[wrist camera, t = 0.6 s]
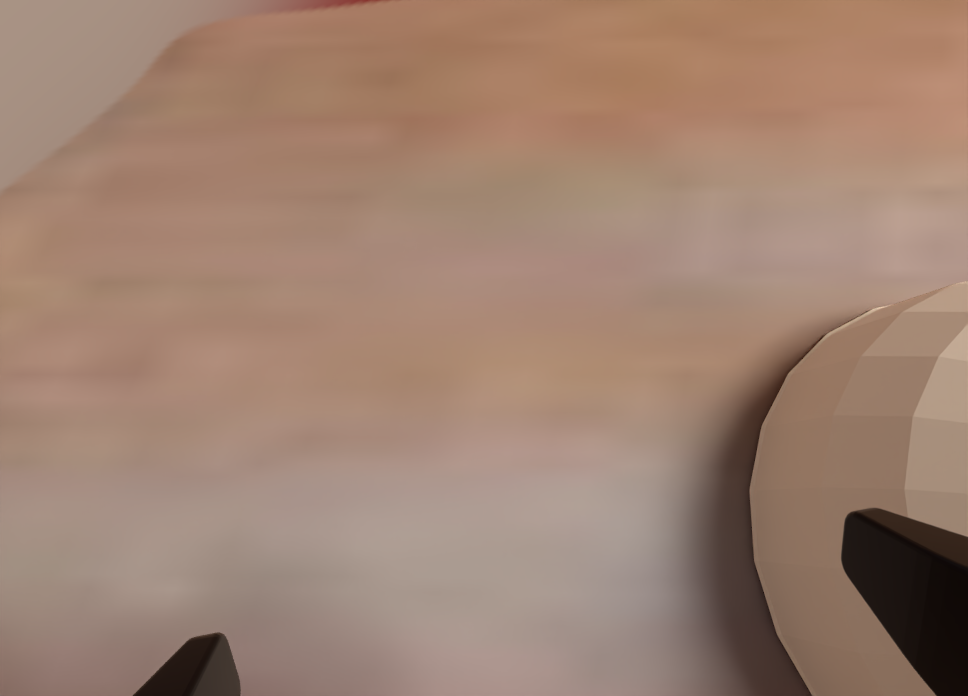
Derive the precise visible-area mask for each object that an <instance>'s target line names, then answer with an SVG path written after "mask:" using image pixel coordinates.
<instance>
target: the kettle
mask: <svg viewBox="0 0 968 696" xmlns="http://www.w3.org/2000/svg"><path fill="white" fill-rule="evenodd" d="M749 491H750V506H751V521H752V536H753V550H754V562H755V565H756V568H757V572H758V575H759V578H760V581H761V584H762V588H763V591H764V594H765V597H766V601H767V604H768V607H769V610H770V613H771V617H772V620H773V623H774V626H775V629H776V633H777V635H778V637H779V639H780V641H781V642H782V644H783V646H784V648H785V649H786V651H787V653H788V655H789V656H790V658H791V660H792V661H793V663H794V665H795V667H796V668H797V670H798V672H799V674H800V675H801V677H802V679H803V681H804V682H805V684H806V686H807V687H808V689H809V691H810V693H811V694H812V696H936V695H935V694H934V693H933V691H932V690H931V689H930V688H929V687H928V685H927V684H926V683H925V682H924V681H923V679H922V678H921V677H920V676H919V674H918V673H917V672H916V671H915V670H914V668H913V667H912V666H911V664H910V663H909V662H908V660H907V659H906V658H905V656H904V655H903V654H902V652H901V651H900V649H899V648H898V647H897V645H896V644H895V642H894V641H893V640H892V638H891V637H890V635H889V634H888V633H887V631H886V630H885V628H884V627H883V626H882V624H881V623H880V621H879V620H878V619H877V617H876V616H875V614H874V613H873V612H872V610H871V609H870V607H869V606H868V605H867V603H866V602H865V600H864V599H863V598H862V596H861V595H860V593H859V592H858V591H857V589H856V588H855V586H854V585H853V584H852V582H851V581H850V579H849V578H848V577H847V575H846V573H845V571H844V569H843V566H842V562H841V550H842V540H843V530H844V521H845V518H846V516H847V514H848V513H850V512H852V511H856V510H861V509H867V508H880V509H883V510H886V511H890V512H893V513H896V514H899V515H902V516H905V517H908V518H911V519H914V520H917V521H920V522H924V523H927V524H930V525H933V526H936V527H939V528H942V529H945V530H948V531H951V532H954V533H958V534H961V535H964V536H967V537H968V281H966V282H961V283H956V284H952V285H949V286H947V287H944V288H941V289H938V290H935V291H932V292H929V293H926V294H923V295H920V296H917V297H914V298H911V299H908V300H905V301H902V302H899V303H896V304H893V305H889V306H884V307H878V308H874V309H872V310H871V311H869V312H867V313H865V314H863V315H861V316H859V317H857V318H856V319H854V320H852V321H850V322H848V323H846V324H844V325H842V326H840V327H839V328H837V329H835V330H833V331H831V332H829V333H827V334H826V335H825V336H824V337H823V338H822V339H821V340H820V341H819V342H818V343H817V344H816V345H815V347H814V348H813V349H812V350H811V351H810V352H809V353H808V354H807V355H806V356H805V357H804V358H803V359H802V360H801V361H800V362H799V363H798V364H797V365H796V366H795V367H794V368H793V369H792V370H791V371H790V372H789V373H788V375H787V377H786V379H785V381H784V383H783V385H782V387H781V389H780V391H779V393H778V395H777V397H776V399H775V401H774V403H773V405H772V406H771V408H770V410H769V412H768V414H767V416H766V418H765V420H764V422H763V424H762V426H761V431H760V437H759V442H758V447H757V453H756V458H755V463H754V468H753V474H752V479H751V484H750V489H749Z"/></svg>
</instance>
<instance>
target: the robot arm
mask: <svg viewBox="0 0 968 696" xmlns="http://www.w3.org/2000/svg"><path fill="white" fill-rule="evenodd" d="M841 562H842V566H843V569H844V571H845V573H846V575H847V577H848V578H849V579H850V581H851V582H852V584H853V585H854V586H855V588H856V589H857V591H858V592H859V593H860V595H861V596H862V598H863V599H864V600H865V602H866V603H867V605H868V606H869V607H870V609H871V610H872V612H873V613H874V614H875V616H876V617H877V619H878V620H879V621H880V623H881V624H882V626H883V627H884V628H885V630H886V631H887V633H888V634H889V635H890V637H891V638H892V640H893V641H894V642H895V644H896V645H897V647H898V648H899V649H900V651H901V652H902V654H903V655H904V656H905V658H906V659H907V660H908V662H909V663H910V664H911V666H912V667H913V668H914V670H915V671H916V672H917V673H918V674H919V676H920V677H921V678H922V679H923V681H924V682H925V683H926V684H927V685H928V687H929V688H930V689H931V690H932V691H933V693H934V694H935V695H936V696H968V537H967V536H964V535H961V534H958V533H954V532H951V531H948V530H945V529H942V528H939V527H936V526H933V525H930V524H927V523H924V522H920V521H917V520H914V519H911V518H908V517H905V516H902V515H899V514H896V513H893V512H890V511H886V510H883V509H880V508H867V509H861V510H856V511H852V512H850V513H848V514H847V516H846V518H845V521H844V530H843V540H842V550H841ZM240 691H241V690H240V680H239V676H238V673H237V669H236V666H235V663H234V659H233V656H232V653H231V650H230V646H229V643H228V640H227V638H226V637H225V635H224V634H222V633H212V634H207V635H202V636H197V637H193V638H191V639H189V640H188V641H187V642H186V643H185V644H184V645H183V646H182V647H181V648H180V649H179V650H178V651H177V652H176V653H175V654H174V655H173V656H172V657H171V658H170V659H169V660H168V661H167V662H166V663H165V664H164V665H163V666H162V667H161V668H160V669H159V670H158V671H157V672H156V673H155V674H154V675H153V676H152V677H151V678H150V679H149V680H148V681H147V682H146V683H145V684H144V685H143V686H142V687H141V688H140V689H139V690H138V691H137V692H136V693H135V694H134V695H133V696H240Z"/></svg>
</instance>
